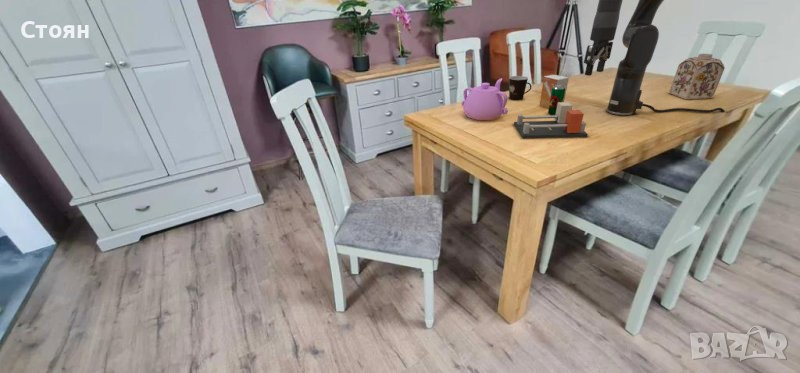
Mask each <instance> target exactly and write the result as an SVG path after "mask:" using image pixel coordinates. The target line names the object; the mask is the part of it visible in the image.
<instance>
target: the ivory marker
mask: <svg viewBox="0 0 800 373" xmlns="http://www.w3.org/2000/svg"><path fill="white" fill-rule="evenodd" d="M573 108H574V105H573V104H572V103H571V102H569V101H564V102H558V104H557V110H556V115H559V116H558V118H554V121H557V123H558V124H562V123H565V118H566V113H567V110H573Z"/></svg>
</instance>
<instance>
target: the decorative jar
mask: <svg viewBox="0 0 800 373" xmlns="http://www.w3.org/2000/svg"><path fill="white" fill-rule="evenodd" d="M725 69H726V67H725V65H724V63H723V62H722V60H721V59H720V58H718V59H717V58H715V57H713V53H698V55H697V56H694V57H688V58H687V59H684V60H683V61H681V62H680V63H679V64H678V66H677V69H676V71H675V74H674V77H673V80H672V82H671V86H670V89H669V92H668V94H669V95H672V96H675V97H678V98H680V99H683V100H705V99H714V96H715V93H716V91H717V89H718V87H719V84H720V82H721V79H722V76H723V74H724V71H725Z"/></svg>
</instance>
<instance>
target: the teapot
mask: <svg viewBox="0 0 800 373" xmlns="http://www.w3.org/2000/svg"><path fill="white" fill-rule="evenodd" d="M502 82H503V77H501V78H498V80H496V83H495V84H494V86H493V85H492V86H491V85H490V82H481V83H480V85H479V86H474V87H471V86H468V87H466V88H465V89H464V90H463V92H462V93H463V94H462V95H463V101H462V102H461V106H462V111H463V113H464V114H465V115H466V116H467V117H468V118H470V119H473V120H478V121H489V120H495V119H496V120H497V119H498V118H500V117H501V116H502V115H503V116H505V115H507V114H508V112H509V110H508V108H507V107H506V105H507V102H508V99H509V96H508V94H507V92H504V91H501V83H502ZM468 91H469V92H468Z"/></svg>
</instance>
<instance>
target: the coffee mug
mask: <svg viewBox="0 0 800 373" xmlns="http://www.w3.org/2000/svg"><path fill="white" fill-rule="evenodd" d="M528 79H529V77H527V76H524V75H513V76H512V75H511V76H509V77H508V99H509V100H510V101H513V102H515V101H517V102H518V101H522V100H524V96H525V94H527V93H529V92H530V91H531V90H532V83H530V82H528V81H529V80H528ZM527 85H529V89H528V90H526V88H527Z"/></svg>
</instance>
